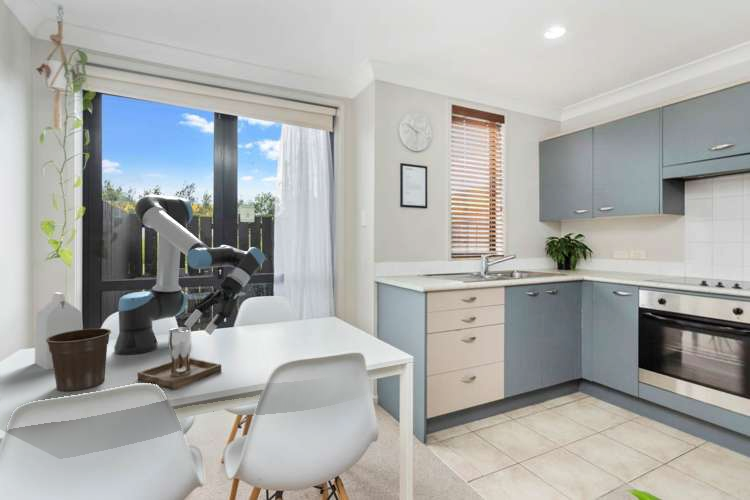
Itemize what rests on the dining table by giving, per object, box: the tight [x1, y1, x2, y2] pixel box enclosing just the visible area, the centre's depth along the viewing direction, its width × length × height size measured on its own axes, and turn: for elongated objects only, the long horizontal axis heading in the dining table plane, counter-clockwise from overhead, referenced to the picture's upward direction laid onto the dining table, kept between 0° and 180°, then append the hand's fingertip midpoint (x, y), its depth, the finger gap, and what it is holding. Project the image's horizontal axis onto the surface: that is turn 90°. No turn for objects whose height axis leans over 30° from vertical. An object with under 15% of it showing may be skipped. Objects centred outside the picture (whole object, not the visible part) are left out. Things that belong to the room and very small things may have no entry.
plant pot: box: [46, 328, 112, 392], centre depth 119 cm, size 16×16×16 cm
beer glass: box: [168, 326, 193, 376], centre depth 126 cm, size 7×7×15 cm
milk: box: [34, 291, 84, 371], centre depth 139 cm, size 12×12×26 cm
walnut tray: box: [137, 357, 222, 391], centre depth 127 cm, size 18×18×2 cm
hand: (196, 329), depth 130 cm, fingers open, 13 cm apart
